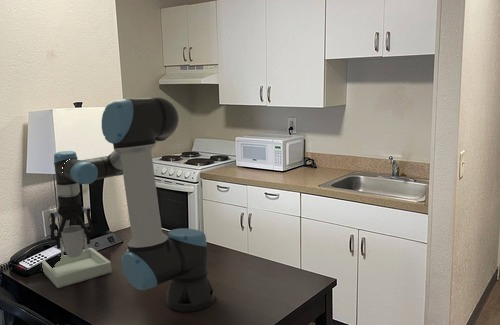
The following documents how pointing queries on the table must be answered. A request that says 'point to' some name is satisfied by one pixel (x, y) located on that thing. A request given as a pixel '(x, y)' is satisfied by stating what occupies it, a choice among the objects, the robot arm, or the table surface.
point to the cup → (73, 240)
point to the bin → (77, 268)
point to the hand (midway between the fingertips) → (74, 254)
